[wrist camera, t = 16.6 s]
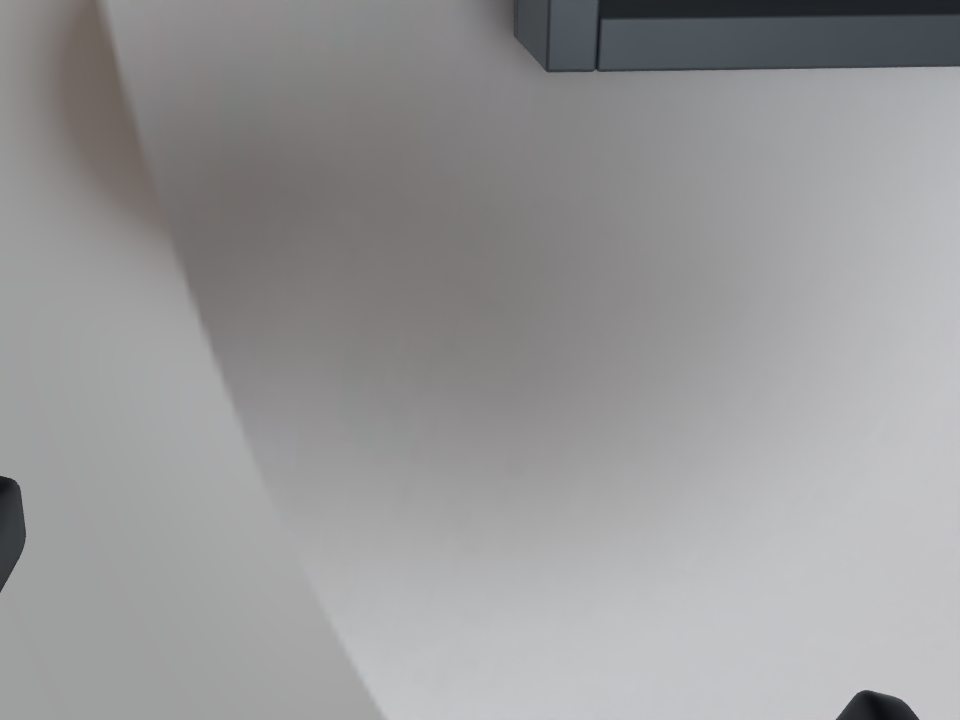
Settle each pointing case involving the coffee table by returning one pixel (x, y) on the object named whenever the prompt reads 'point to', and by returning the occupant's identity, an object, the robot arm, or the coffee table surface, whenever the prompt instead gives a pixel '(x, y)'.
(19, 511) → the robot arm
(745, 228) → the coffee table surface
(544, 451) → the coffee table surface
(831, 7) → the open storage tray
